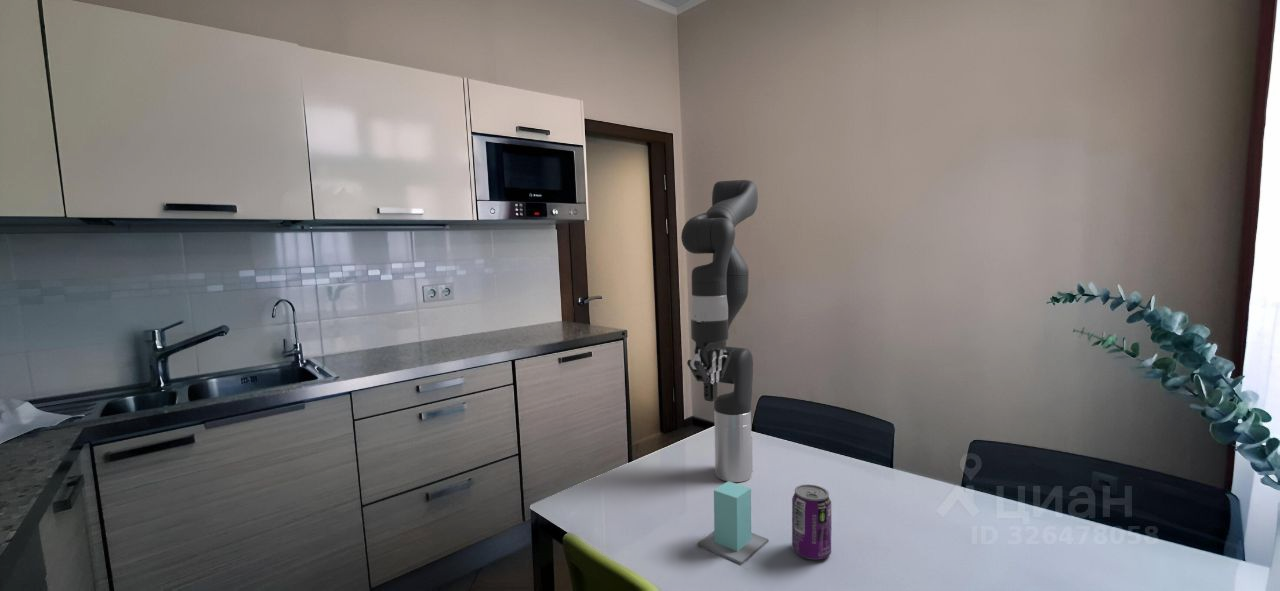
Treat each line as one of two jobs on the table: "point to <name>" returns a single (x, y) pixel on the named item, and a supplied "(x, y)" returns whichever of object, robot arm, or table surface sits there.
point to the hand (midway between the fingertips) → (710, 400)
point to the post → (731, 554)
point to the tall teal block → (732, 515)
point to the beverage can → (811, 522)
